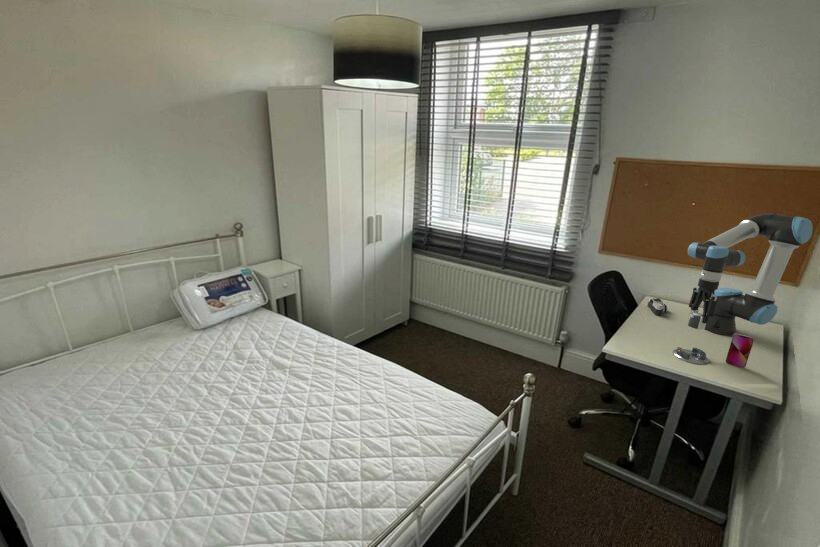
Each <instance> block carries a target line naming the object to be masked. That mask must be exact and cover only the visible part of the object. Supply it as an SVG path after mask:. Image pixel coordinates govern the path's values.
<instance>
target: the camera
mask: <svg viewBox="0 0 820 547" xmlns="http://www.w3.org/2000/svg"><path fill="white" fill-rule="evenodd" d="M647 302H648V303H647V307H648V309H649V308H650V309H651V310H650V309H649V310H650V311H651V312H652V313H653V315H654V316H656V317H662V316H663V313H664V314H666V313H667V312H668V306H667V304H665V303H664V302H663V300H662V299H661V298H660V297H659V298H657V297H656V298H654V297H652V296H651V297H650V298H648V300H647Z"/></svg>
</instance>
